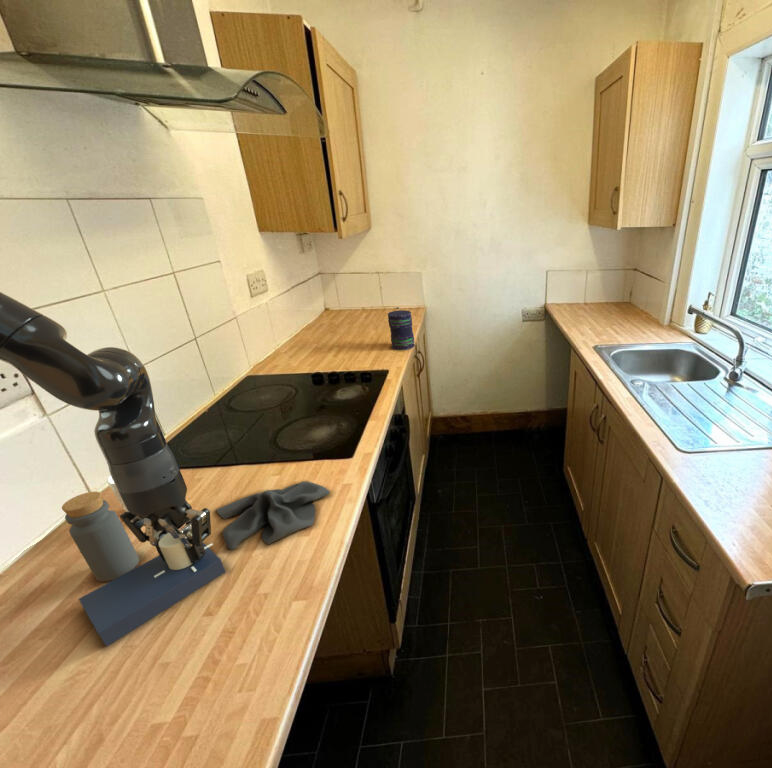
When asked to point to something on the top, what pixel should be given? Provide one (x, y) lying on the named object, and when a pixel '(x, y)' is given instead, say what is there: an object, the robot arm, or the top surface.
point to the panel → (145, 594)
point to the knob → (174, 552)
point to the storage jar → (401, 329)
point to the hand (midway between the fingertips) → (184, 558)
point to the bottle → (100, 536)
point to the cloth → (272, 513)
